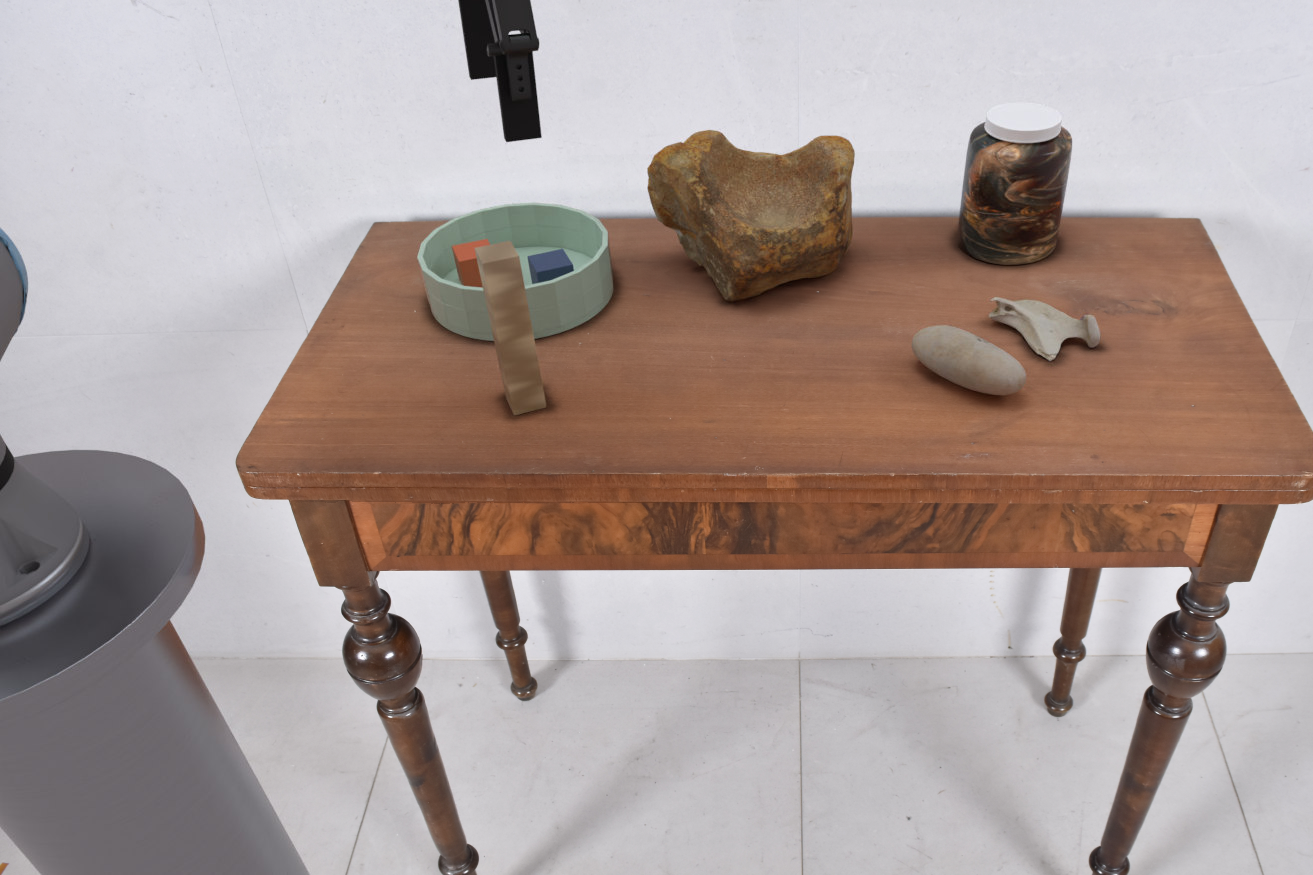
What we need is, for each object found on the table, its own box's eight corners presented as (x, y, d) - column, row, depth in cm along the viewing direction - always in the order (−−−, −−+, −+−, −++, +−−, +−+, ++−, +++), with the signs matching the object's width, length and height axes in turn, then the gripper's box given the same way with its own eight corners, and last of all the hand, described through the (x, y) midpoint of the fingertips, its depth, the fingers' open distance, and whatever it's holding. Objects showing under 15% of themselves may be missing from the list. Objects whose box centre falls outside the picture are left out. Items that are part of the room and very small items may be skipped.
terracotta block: (466, 294, 118) (458, 261, 115) (458, 278, 121) (451, 245, 118) (501, 286, 119) (495, 253, 117) (493, 270, 122) (487, 238, 119)
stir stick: (514, 415, 102) (482, 263, 91) (506, 398, 104) (474, 247, 94) (546, 407, 103) (519, 256, 92) (538, 390, 105) (510, 240, 95)
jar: (947, 221, 131) (960, 98, 121) (1042, 217, 131) (1062, 94, 122) (967, 268, 122) (982, 139, 112) (1068, 263, 122) (1092, 134, 113)
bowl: (450, 359, 110) (438, 307, 106) (415, 272, 124) (403, 224, 120) (638, 315, 116) (632, 265, 112) (584, 237, 130) (577, 190, 126)
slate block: (542, 305, 116) (536, 272, 113) (532, 288, 119) (527, 256, 116) (578, 297, 117) (573, 264, 114) (567, 281, 120) (562, 248, 117)
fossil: (1058, 368, 106) (1064, 338, 104) (981, 322, 113) (986, 293, 111) (1105, 346, 109) (1112, 316, 107) (1028, 302, 116) (1033, 273, 114)
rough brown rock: (653, 326, 115) (646, 200, 105) (650, 242, 127) (644, 121, 116) (867, 319, 117) (881, 195, 106) (845, 237, 129) (856, 118, 118)
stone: (928, 322, 108) (1040, 325, 101) (928, 384, 110) (1038, 391, 103) (898, 328, 104) (1013, 332, 97) (899, 392, 106) (1011, 401, 98)
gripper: (565, -177, 65) (591, 161, 79) (482, -236, 82) (515, 50, 96) (439, -172, 63) (489, 175, 77) (380, -234, 80) (430, 59, 94)
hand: (503, 106), depth 86 cm, fingers open, 13 cm apart
